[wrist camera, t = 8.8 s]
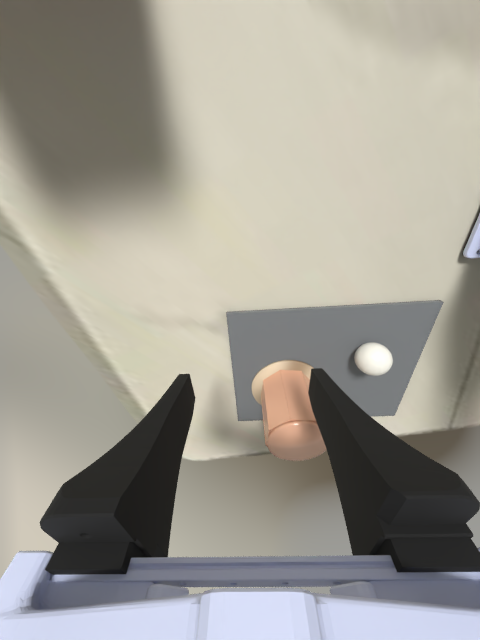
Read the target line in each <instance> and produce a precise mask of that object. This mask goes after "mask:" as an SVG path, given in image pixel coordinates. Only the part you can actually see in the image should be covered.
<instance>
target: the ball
mask: <svg viewBox="0 0 480 640" xmlns="http://www.w3.org/2000/svg"><path fill="white" fill-rule="evenodd" d="M354 359H355V363H356V365H357V367H358V368H359V369H360V370H361V371H362V372H364V373H366V374H368V375H373V376H378V375H382V374H385V373H386V372H388V371H389V369H390V368H391V366H392V363H393V358H392V355H391V353H390V351H389V350H388V349H387V348H386V347H385V346H383V345H381V344H379V343H374V342H370V343H365V344H363V345H361V346H360V347H359V348H358V349H357V350H356V352H355V357H354Z"/></svg>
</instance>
